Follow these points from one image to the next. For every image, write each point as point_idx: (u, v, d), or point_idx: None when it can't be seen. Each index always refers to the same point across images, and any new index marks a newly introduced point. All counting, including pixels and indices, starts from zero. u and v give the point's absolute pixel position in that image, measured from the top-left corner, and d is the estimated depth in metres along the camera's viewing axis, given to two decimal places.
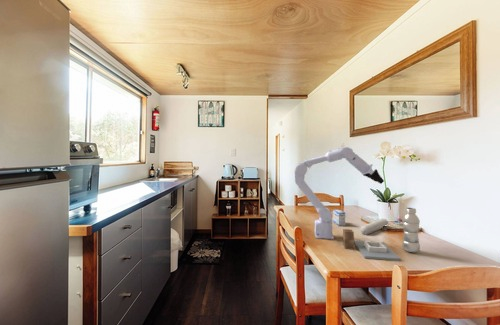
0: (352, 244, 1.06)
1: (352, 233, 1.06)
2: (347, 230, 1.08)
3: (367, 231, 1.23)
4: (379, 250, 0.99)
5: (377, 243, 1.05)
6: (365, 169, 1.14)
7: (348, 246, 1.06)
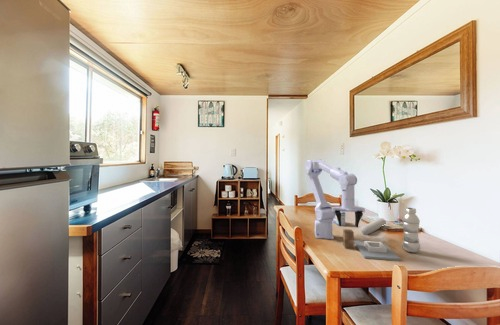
0: (352, 244, 1.06)
1: (352, 233, 1.05)
2: (347, 230, 1.08)
3: (368, 231, 1.23)
4: (379, 250, 0.99)
5: (377, 243, 1.05)
6: None
7: (348, 246, 1.06)
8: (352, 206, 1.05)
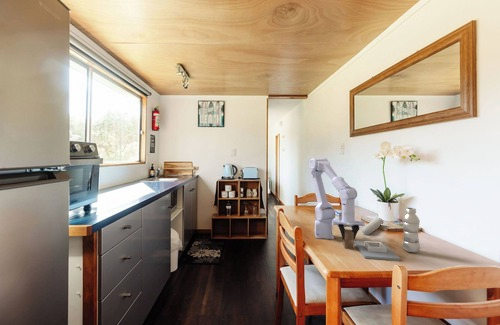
0: (352, 244, 1.06)
1: (352, 233, 1.05)
2: (347, 230, 1.08)
3: (369, 231, 1.23)
4: (379, 250, 0.99)
5: (377, 243, 1.05)
6: None
7: (348, 246, 1.06)
8: (352, 220, 1.05)
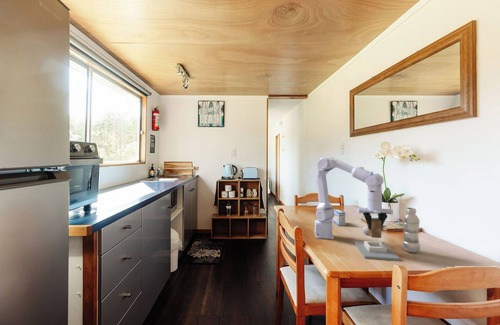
0: (379, 233, 1.00)
1: (379, 221, 1.00)
2: (374, 219, 1.03)
3: None
4: (379, 250, 0.99)
5: (377, 243, 1.05)
6: None
7: (375, 235, 1.01)
8: (380, 208, 1.00)
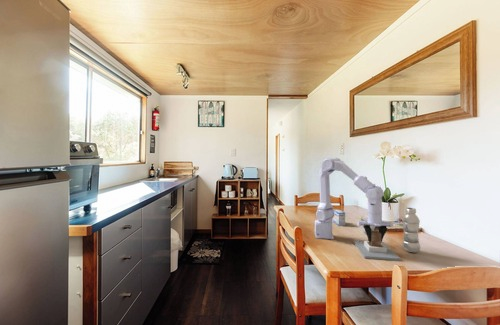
0: (380, 246, 1.00)
1: (380, 234, 1.00)
2: (374, 231, 1.03)
3: None
4: (379, 250, 0.99)
5: None
6: (368, 219, 1.03)
7: None
8: (380, 221, 1.00)
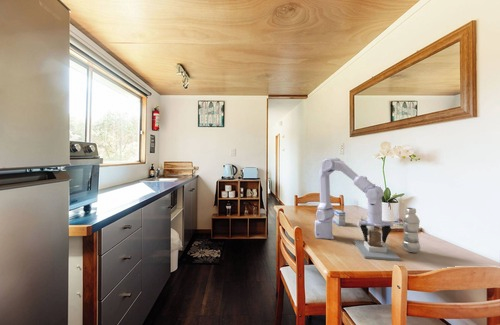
0: (380, 246, 1.00)
1: (380, 234, 1.00)
2: (374, 231, 1.03)
3: None
4: (379, 250, 0.99)
5: None
6: (368, 219, 1.03)
7: None
8: (380, 221, 1.00)
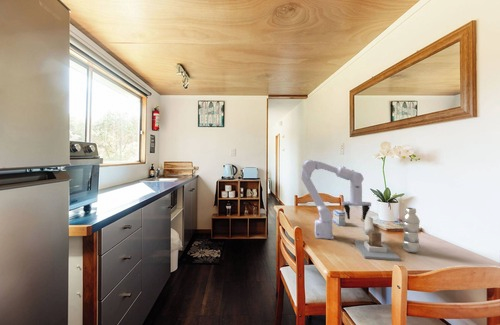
0: (380, 246, 1.00)
1: (380, 234, 1.00)
2: (374, 231, 1.03)
3: None
4: (379, 250, 0.99)
5: None
6: (350, 200, 1.20)
7: None
8: (360, 201, 1.16)
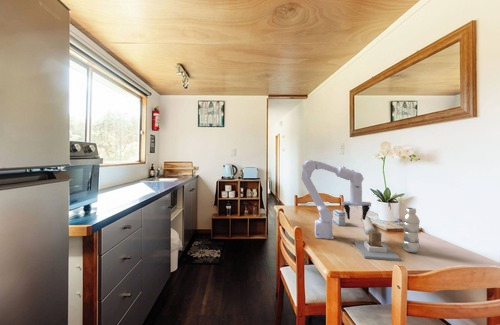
0: (380, 246, 1.00)
1: (380, 234, 1.00)
2: (374, 231, 1.03)
3: None
4: (379, 250, 0.99)
5: None
6: (350, 200, 1.20)
7: None
8: (360, 201, 1.16)
